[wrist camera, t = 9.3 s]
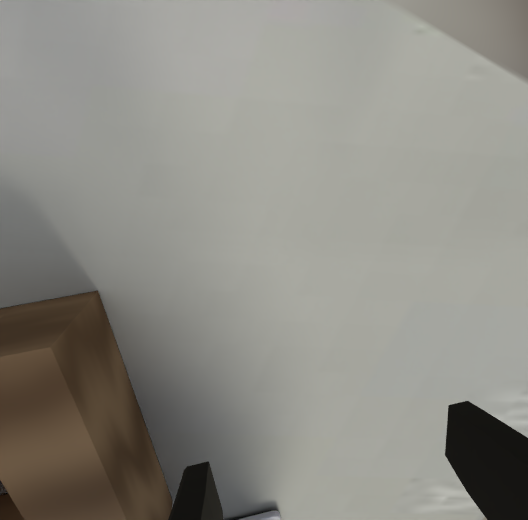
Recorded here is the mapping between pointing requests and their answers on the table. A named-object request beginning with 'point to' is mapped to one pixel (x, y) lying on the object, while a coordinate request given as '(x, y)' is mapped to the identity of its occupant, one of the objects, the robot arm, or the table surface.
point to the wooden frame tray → (72, 419)
